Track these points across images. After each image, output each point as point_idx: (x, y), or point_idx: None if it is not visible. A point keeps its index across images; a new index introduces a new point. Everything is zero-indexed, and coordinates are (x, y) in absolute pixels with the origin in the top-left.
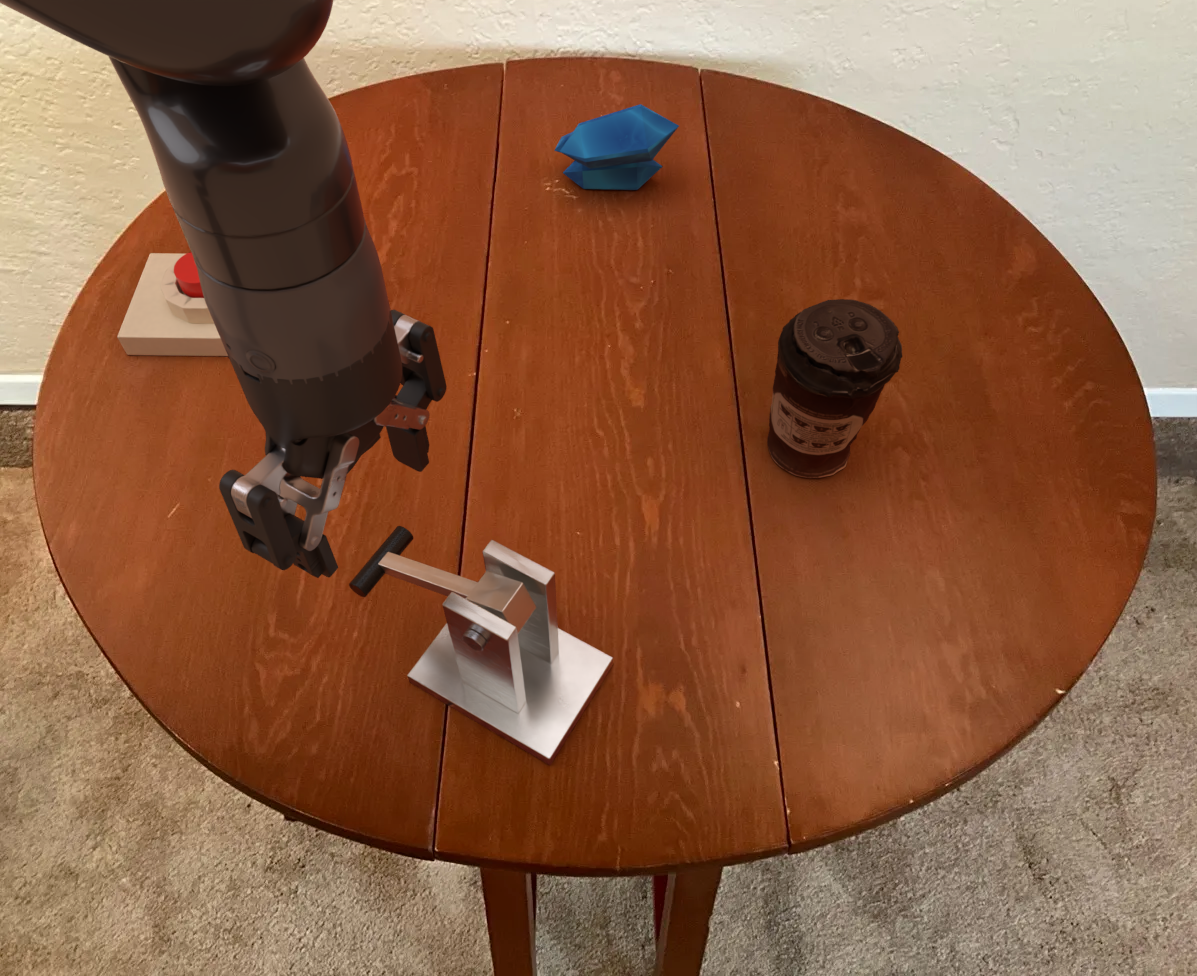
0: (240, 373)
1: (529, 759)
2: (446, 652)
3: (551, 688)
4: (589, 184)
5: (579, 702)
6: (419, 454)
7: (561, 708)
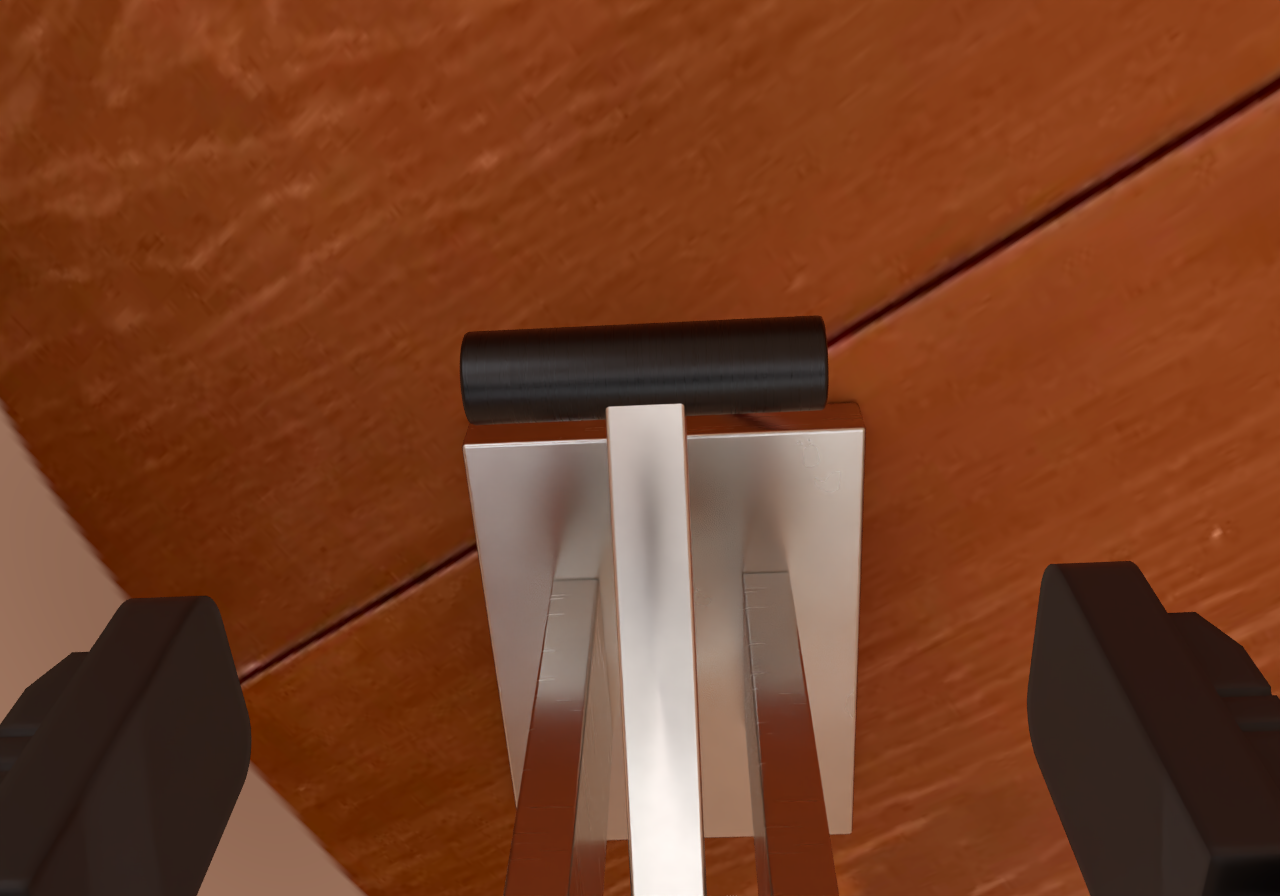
0: None
1: (508, 765)
2: (598, 496)
3: None
4: None
5: None
6: (1086, 879)
7: None
